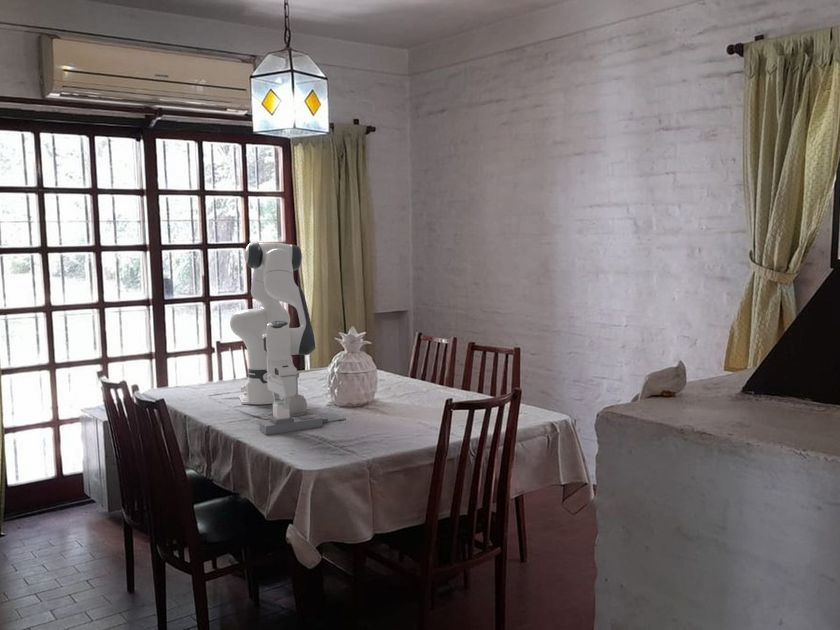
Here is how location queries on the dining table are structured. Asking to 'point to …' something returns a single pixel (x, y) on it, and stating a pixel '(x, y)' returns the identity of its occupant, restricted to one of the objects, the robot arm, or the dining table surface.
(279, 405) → the block
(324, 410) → the dining table surface
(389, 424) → the dining table surface
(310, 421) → the power strip
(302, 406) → the potion bottle
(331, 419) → the mat
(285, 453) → the dining table surface
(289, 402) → the robot arm
